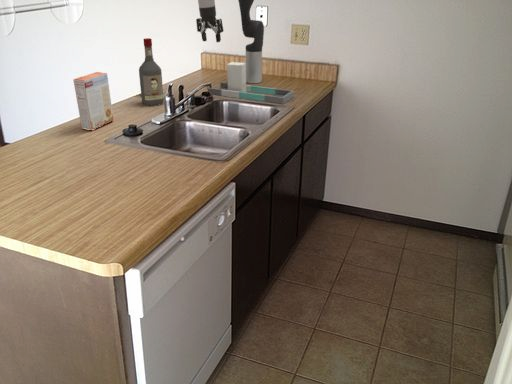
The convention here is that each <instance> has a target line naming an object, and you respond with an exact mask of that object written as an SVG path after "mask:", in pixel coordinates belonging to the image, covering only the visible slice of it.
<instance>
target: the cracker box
mask: <svg viewBox="0 0 512 384" xmlns="http://www.w3.org/2000/svg"><path fill="white" fill-rule="evenodd" d="M73 86H74V91H75V97H76V103H77V108H78V109H77V110H78V115H79V120H80V124H81V125H80V127H81V129H82V128H87V129H95V128H97V127H99V126H102V125H104V124H106V123H109V122H111V121H113V120H114V113H113V106H112V99H111V92H110V84H109V78H108V73H107V72H100V71H96V72H92V73H90V74H86V75H83V76H79V77H76V78H73ZM113 122H114V121H113ZM111 123H112V122H111ZM109 124H110V123H109Z"/></svg>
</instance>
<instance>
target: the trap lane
mask: <svg viewBox="0 0 512 384" xmlns="http://www.w3.org/2000/svg"><path fill="white" fill-rule="evenodd" d="M208 92H209V93H211V94H210V95H213V96H220V97H221V96H222V97H227V98H235V99H243V100H249V101H250V100H251V101H258V102H264V103H265V102H266V103H273V104H279V105H284V104H286V103H287V102H289V101H290V100H292V99H293V98H294V97H295V90H289V89H283V88H275V87H267V86H266V87H265V86H264V87H263V86H258V85H252V84H251V85H248V84H246V92H238V91H230V90H228V82H225V81H224V82H223V81H220V87H217V88H214V87H207V93H208Z"/></svg>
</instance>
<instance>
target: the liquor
mask: <svg viewBox="0 0 512 384" xmlns="http://www.w3.org/2000/svg"><path fill="white" fill-rule="evenodd" d="M143 47H144V61H143V62H142V64H141V65H140V66H139V68H138V75H139V76H138V77H139V85H140V94H141V95H140V97H141V102H142V104H143V103H144V104H143V105H144V106H146V105H156V106H159V105H158V104H161V105H162V103H163V104H164V102H165V101H164V100H165V99H164V90H163V89H164V88H163V76H162V74H163V73H162V68H161V67H160V66H159V65H158V64H157V62H155V59H154V55H153V40H152V38H150V37H148V38H143Z"/></svg>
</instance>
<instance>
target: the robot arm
mask: <svg viewBox="0 0 512 384" xmlns="http://www.w3.org/2000/svg"><path fill="white" fill-rule="evenodd" d="M254 1H255V0H238V6H239V11H240V20H241V29H242V33H243V35H244V37H245V38H249V39H253V42H251V43H248V44H246V45H245V65H246V83H248V84H258V83H261V82H262V78H263V77H262V76H263V75H262V71H263V69H262V68H263V46H264V45H263V44H264V35H265V34H264V33H265V26H264V22H262V20H255V19H251V14H250V11H251V9H252V6H253V3H254ZM197 2H198V10H199V16H200V17H199V18H196V20H195V21H196V31H197V33H198V32H199V33H200V34H201V41H202V42H208V41H207V32H206V31H207V29H210V30H212V31H213V32H214V33H215V41H216V43H220V42H221V40H222V39H221V38H222V37H221V34H222V33H223V32H224V26H223V20H222V18H216V16H217V10H216V9H217V8H216V2H215V0H197Z"/></svg>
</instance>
